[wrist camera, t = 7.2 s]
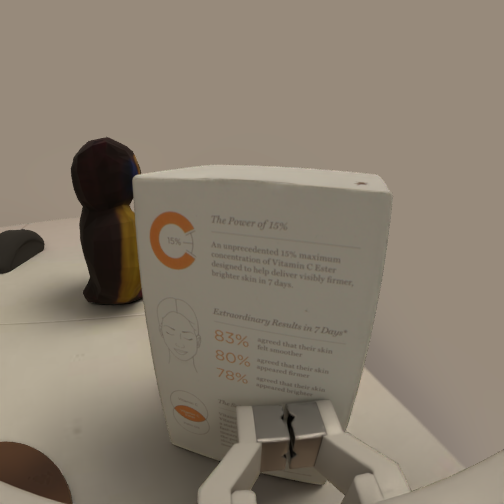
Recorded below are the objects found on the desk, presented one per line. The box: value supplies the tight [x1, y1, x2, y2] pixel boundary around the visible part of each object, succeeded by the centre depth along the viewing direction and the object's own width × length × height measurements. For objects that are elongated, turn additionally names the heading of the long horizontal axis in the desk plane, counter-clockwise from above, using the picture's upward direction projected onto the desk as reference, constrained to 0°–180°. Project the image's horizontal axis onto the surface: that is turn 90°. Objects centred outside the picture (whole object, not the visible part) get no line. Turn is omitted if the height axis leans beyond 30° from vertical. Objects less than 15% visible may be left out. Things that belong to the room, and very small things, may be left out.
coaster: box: [0, 442, 73, 504], centre depth 8 cm, size 8×8×1 cm
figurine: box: [71, 137, 143, 304], centre depth 27 cm, size 10×7×15 cm
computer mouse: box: [0, 229, 44, 274], centre depth 37 cm, size 6×11×4 cm, turn 0°
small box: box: [132, 165, 393, 485], centre depth 13 cm, size 8×6×13 cm
